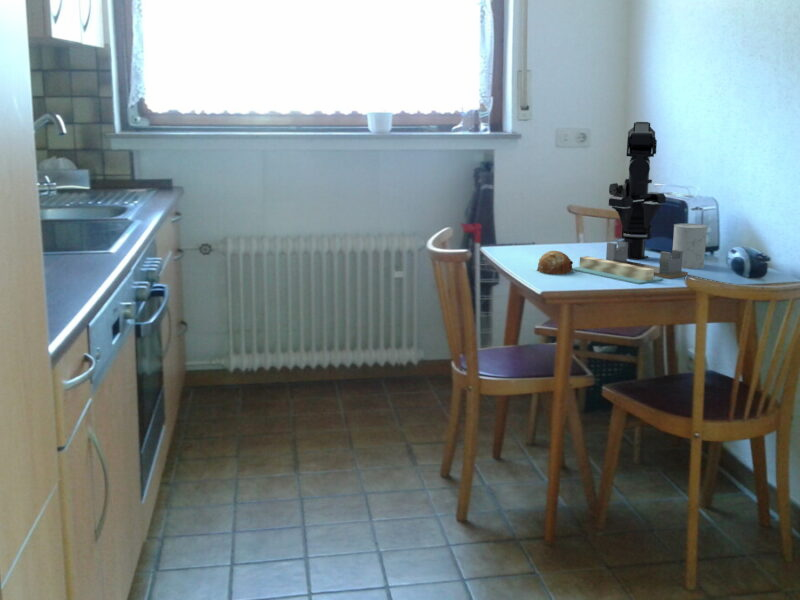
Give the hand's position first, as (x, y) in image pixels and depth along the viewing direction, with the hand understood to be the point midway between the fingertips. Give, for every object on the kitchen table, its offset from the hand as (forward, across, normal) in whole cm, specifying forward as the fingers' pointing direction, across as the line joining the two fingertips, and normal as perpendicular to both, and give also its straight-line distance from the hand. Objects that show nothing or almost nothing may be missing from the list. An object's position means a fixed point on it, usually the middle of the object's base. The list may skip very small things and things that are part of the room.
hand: (635, 228), depth 261 cm
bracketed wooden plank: (+12, +1, +4) cm, 12 cm away
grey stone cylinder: (+12, -16, +7) cm, 21 cm away
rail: (+11, +13, +4) cm, 17 cm away
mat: (+12, +13, +4) cm, 18 cm away
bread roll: (+12, +23, -9) cm, 28 cm away
